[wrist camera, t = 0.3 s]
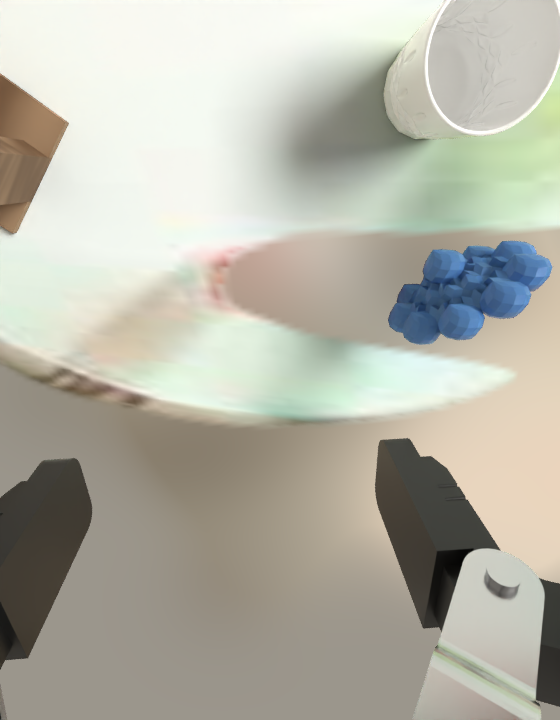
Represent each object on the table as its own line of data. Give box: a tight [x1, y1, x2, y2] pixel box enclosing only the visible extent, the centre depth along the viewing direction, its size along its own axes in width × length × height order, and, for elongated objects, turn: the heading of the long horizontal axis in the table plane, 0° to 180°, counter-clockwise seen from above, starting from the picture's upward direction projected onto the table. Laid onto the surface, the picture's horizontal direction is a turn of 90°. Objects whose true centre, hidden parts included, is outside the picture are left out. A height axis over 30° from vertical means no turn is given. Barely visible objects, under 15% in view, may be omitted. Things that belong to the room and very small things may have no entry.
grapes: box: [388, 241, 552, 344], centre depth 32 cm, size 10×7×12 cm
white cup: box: [383, 0, 560, 139], centre depth 27 cm, size 8×8×10 cm
